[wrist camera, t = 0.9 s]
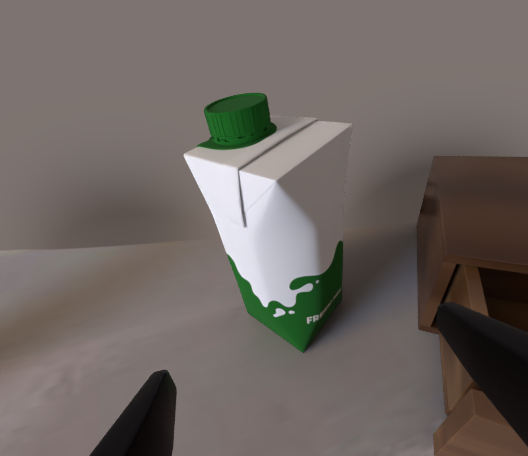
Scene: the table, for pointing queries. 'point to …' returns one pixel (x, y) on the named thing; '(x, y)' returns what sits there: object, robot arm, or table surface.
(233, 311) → the table surface
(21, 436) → the table surface
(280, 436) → the table surface
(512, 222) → the cabinet
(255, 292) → the milk carton
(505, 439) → the drawer
